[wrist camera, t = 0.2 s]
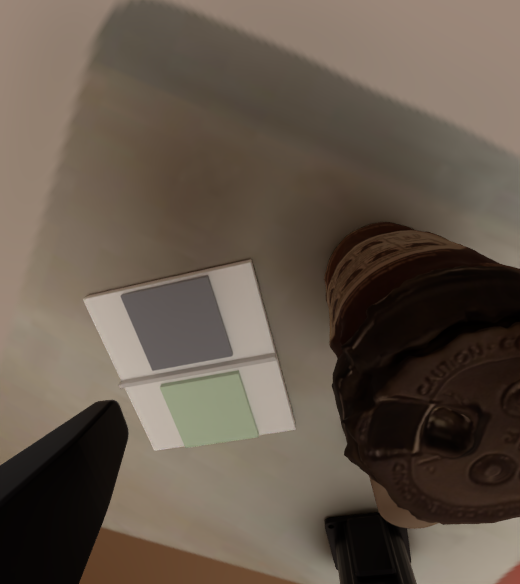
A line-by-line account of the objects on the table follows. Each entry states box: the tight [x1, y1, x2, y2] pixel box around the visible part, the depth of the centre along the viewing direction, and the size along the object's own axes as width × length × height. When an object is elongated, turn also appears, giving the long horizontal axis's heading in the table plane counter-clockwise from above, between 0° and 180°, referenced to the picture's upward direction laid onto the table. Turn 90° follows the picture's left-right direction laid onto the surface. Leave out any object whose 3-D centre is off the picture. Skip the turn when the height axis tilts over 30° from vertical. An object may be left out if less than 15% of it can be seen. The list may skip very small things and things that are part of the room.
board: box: [83, 259, 296, 451], centre depth 24 cm, size 13×11×1 cm
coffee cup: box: [324, 222, 520, 525], centre depth 15 cm, size 9×8×13 cm
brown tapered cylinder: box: [369, 476, 437, 529], centre depth 23 cm, size 4×4×6 cm
